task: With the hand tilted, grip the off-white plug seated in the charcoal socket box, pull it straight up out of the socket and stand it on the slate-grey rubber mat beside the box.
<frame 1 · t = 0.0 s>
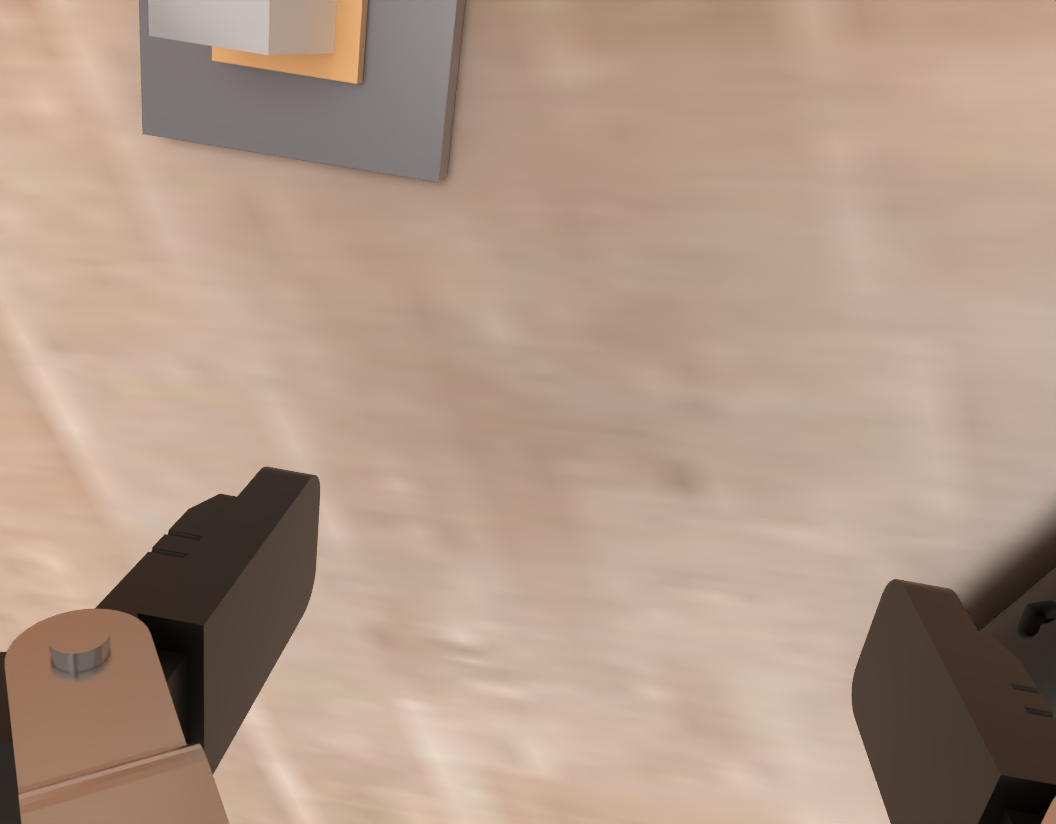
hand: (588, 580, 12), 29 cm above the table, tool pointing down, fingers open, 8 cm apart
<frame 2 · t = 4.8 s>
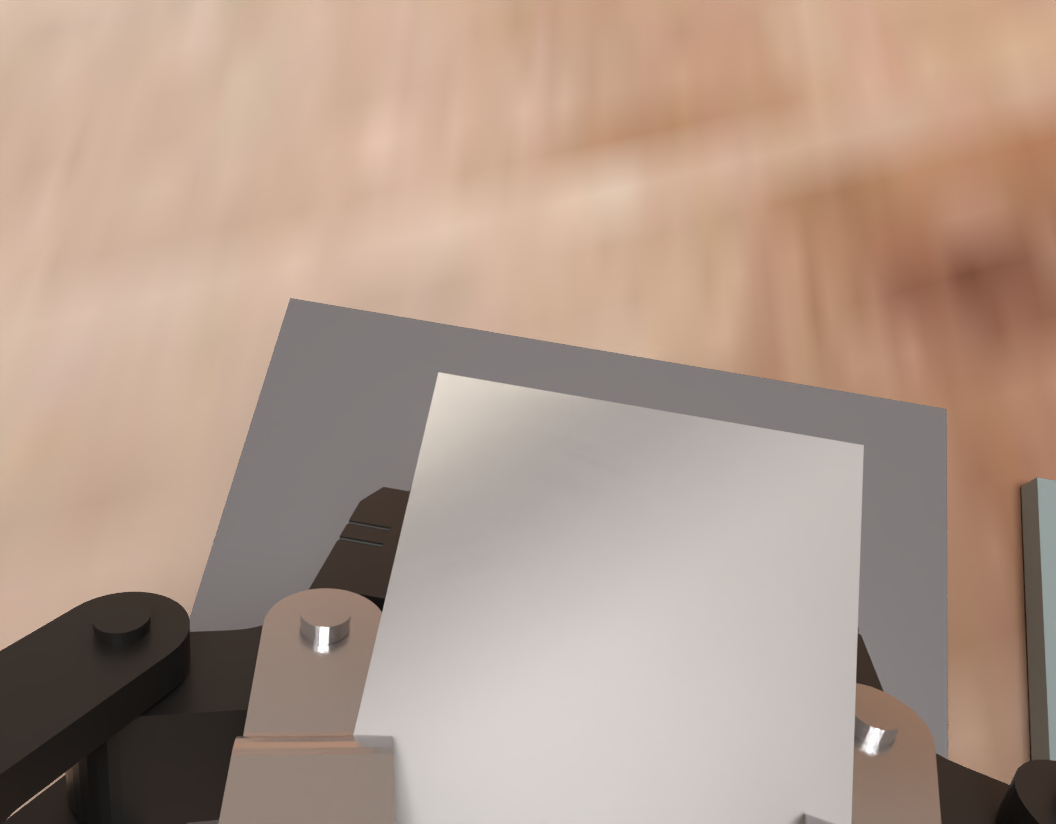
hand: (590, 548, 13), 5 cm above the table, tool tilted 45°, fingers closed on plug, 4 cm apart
plug: (574, 678, 12), in the socket box, touching gripper
socket box: (554, 702, 17), on the table
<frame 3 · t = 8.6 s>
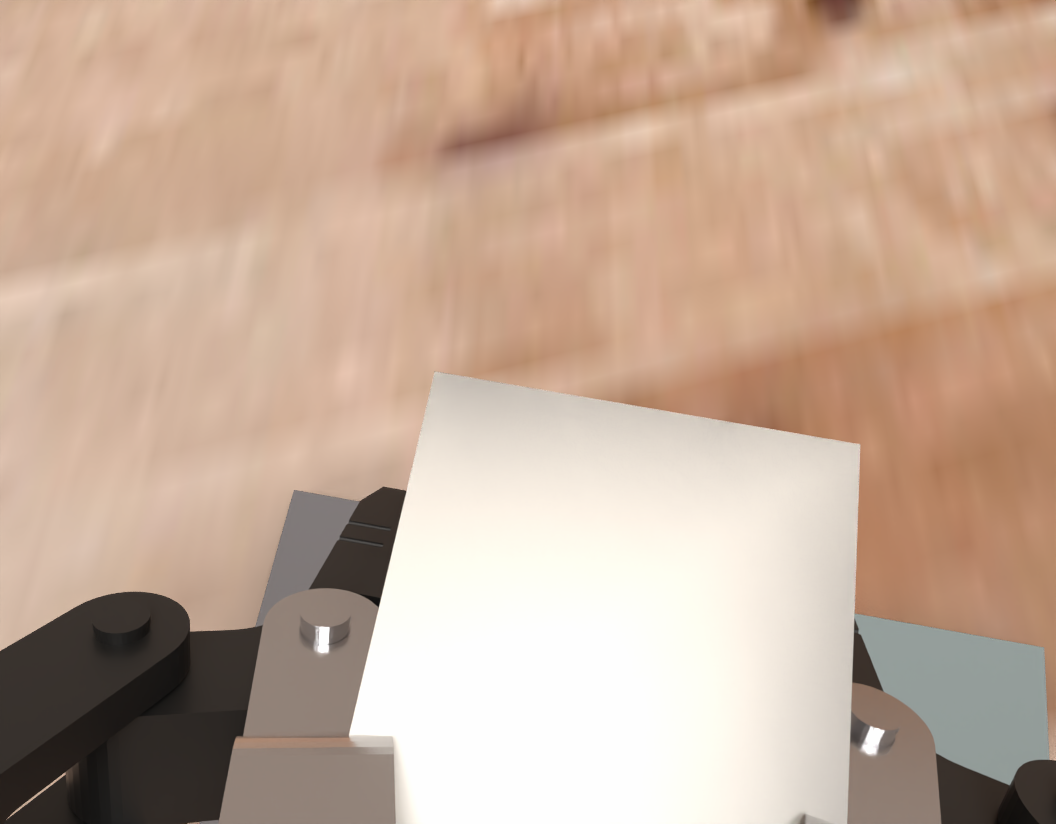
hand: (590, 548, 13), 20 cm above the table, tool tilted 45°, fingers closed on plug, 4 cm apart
plug: (572, 678, 12), point 20 cm above the table, touching gripper
socket box: (438, 716, 31), on the table
mat: (867, 795, 30), on the table
when the fingers open (7 cm above the table, at t = 12.3 s): plug drops 1 cm, resting on mat.
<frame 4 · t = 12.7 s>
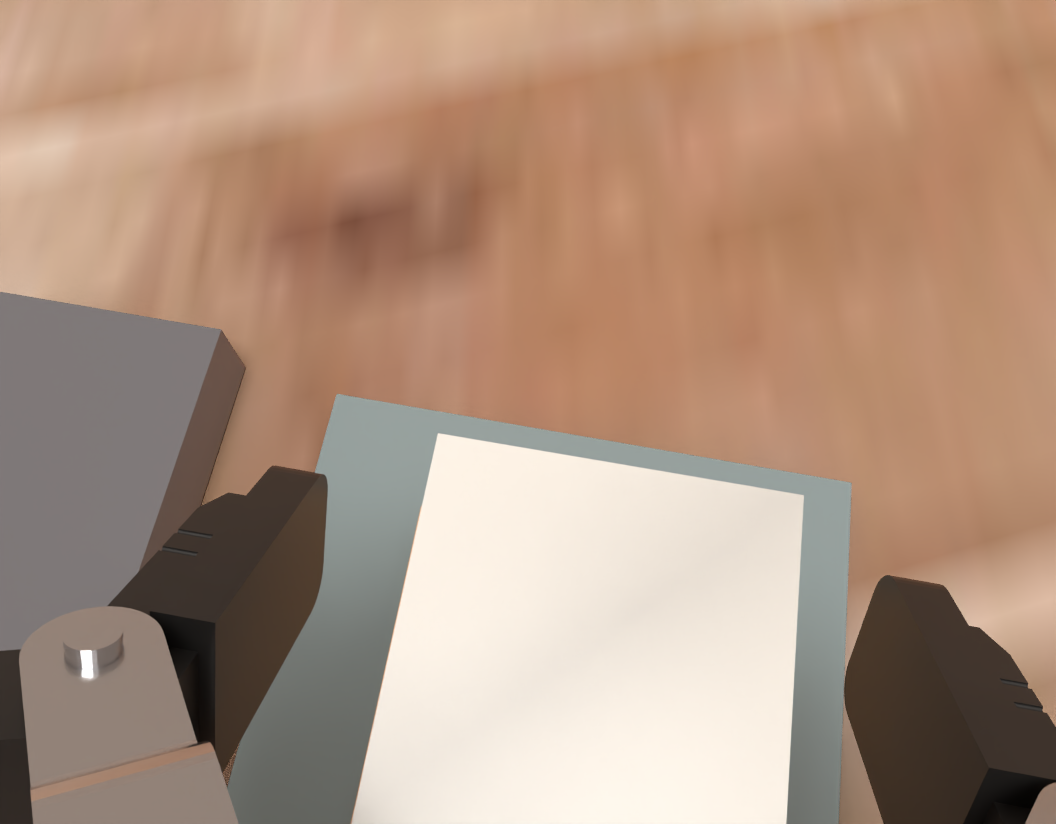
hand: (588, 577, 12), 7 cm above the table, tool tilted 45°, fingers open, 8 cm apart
plug: (561, 691, 13), on the mat, point 6 cm above the table
mat: (547, 709, 19), on the table
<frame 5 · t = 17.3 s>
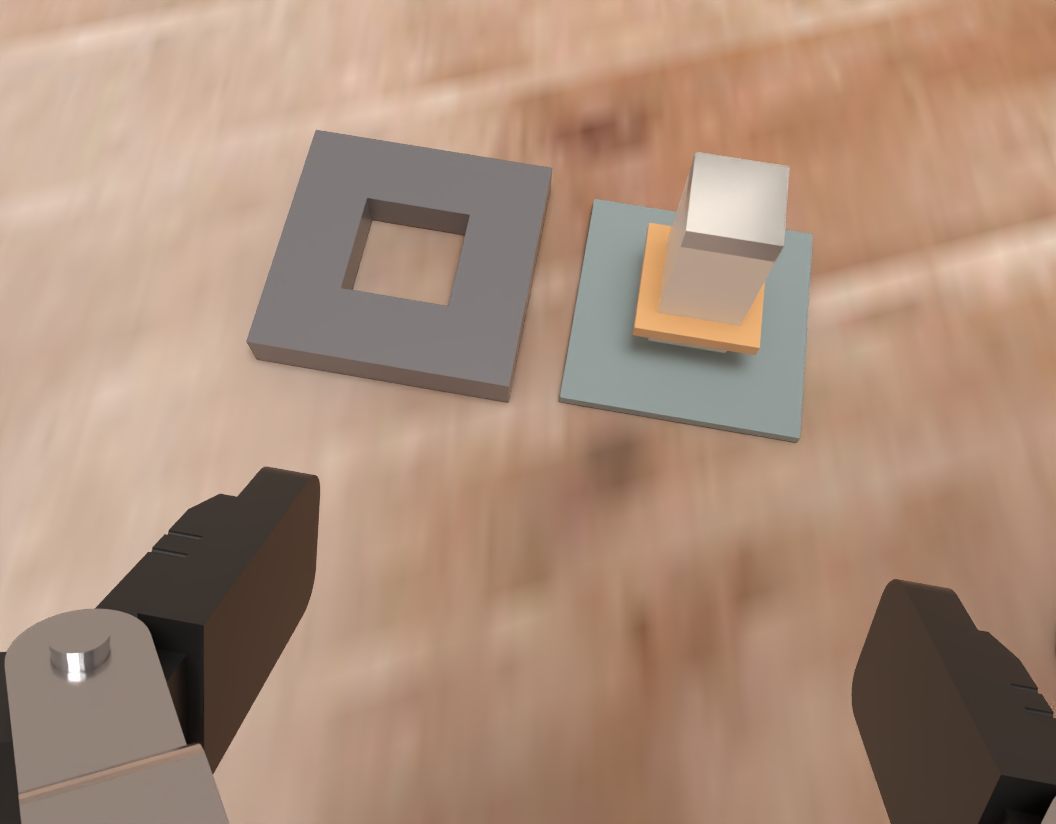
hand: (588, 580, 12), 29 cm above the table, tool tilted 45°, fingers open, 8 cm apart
plug: (712, 261, 41), on the mat, point 6 cm above the table
socket box: (410, 270, 47), on the table
mat: (689, 317, 46), on the table
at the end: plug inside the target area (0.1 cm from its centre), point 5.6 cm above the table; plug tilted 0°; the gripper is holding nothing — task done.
